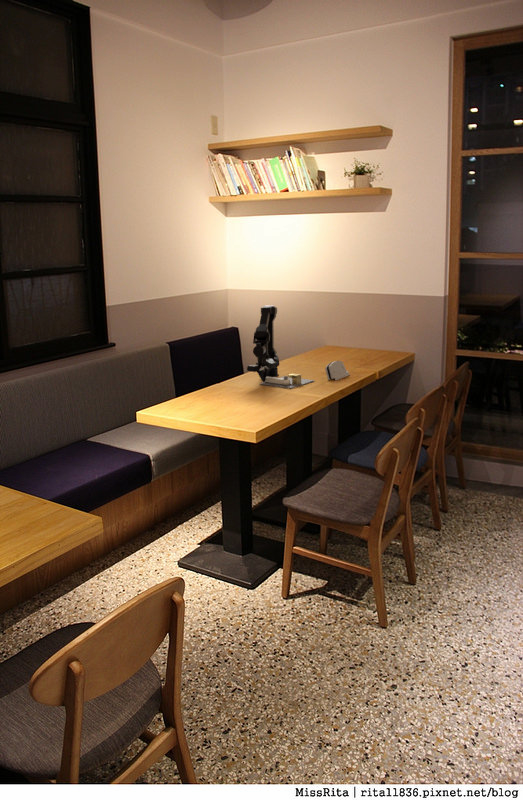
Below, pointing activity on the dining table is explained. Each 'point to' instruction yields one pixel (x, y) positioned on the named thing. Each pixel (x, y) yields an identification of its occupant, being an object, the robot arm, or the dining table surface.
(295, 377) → the block
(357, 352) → the dining table surface
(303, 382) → the board
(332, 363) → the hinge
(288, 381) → the link
